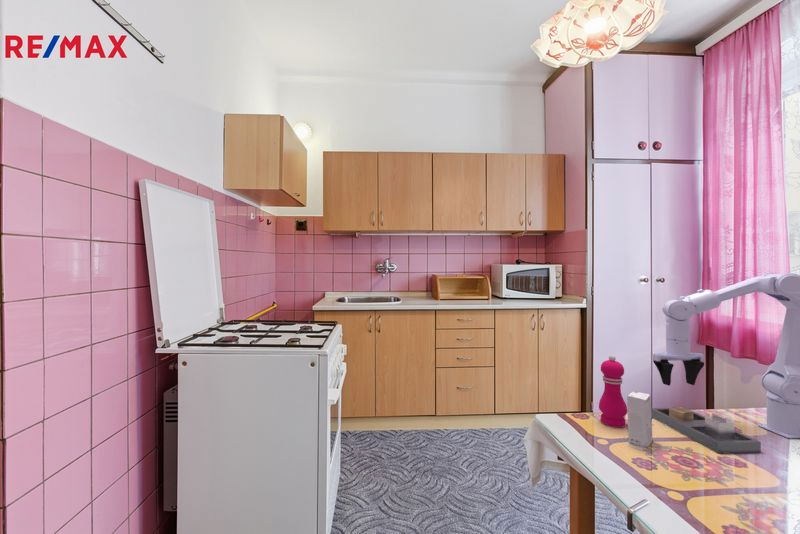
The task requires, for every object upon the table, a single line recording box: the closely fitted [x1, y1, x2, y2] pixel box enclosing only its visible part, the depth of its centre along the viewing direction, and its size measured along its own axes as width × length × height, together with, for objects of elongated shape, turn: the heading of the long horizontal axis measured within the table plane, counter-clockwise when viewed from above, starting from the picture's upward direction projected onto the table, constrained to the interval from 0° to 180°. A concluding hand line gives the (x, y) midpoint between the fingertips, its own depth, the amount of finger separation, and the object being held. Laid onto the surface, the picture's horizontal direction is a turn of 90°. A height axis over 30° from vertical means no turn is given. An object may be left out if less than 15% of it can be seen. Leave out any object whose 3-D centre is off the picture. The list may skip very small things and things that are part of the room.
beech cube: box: [668, 406, 694, 421], centre depth 103 cm, size 4×4×4 cm
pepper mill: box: [598, 354, 628, 428], centre depth 103 cm, size 7×7×20 cm
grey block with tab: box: [704, 413, 735, 441], centre depth 91 cm, size 4×4×7 cm
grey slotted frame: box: [651, 407, 762, 454], centre depth 97 cm, size 11×22×2 cm, turn 2°
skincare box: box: [626, 391, 653, 448], centre depth 92 cm, size 6×4×12 cm
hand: (678, 384), depth 106 cm, fingers open, 7 cm apart
